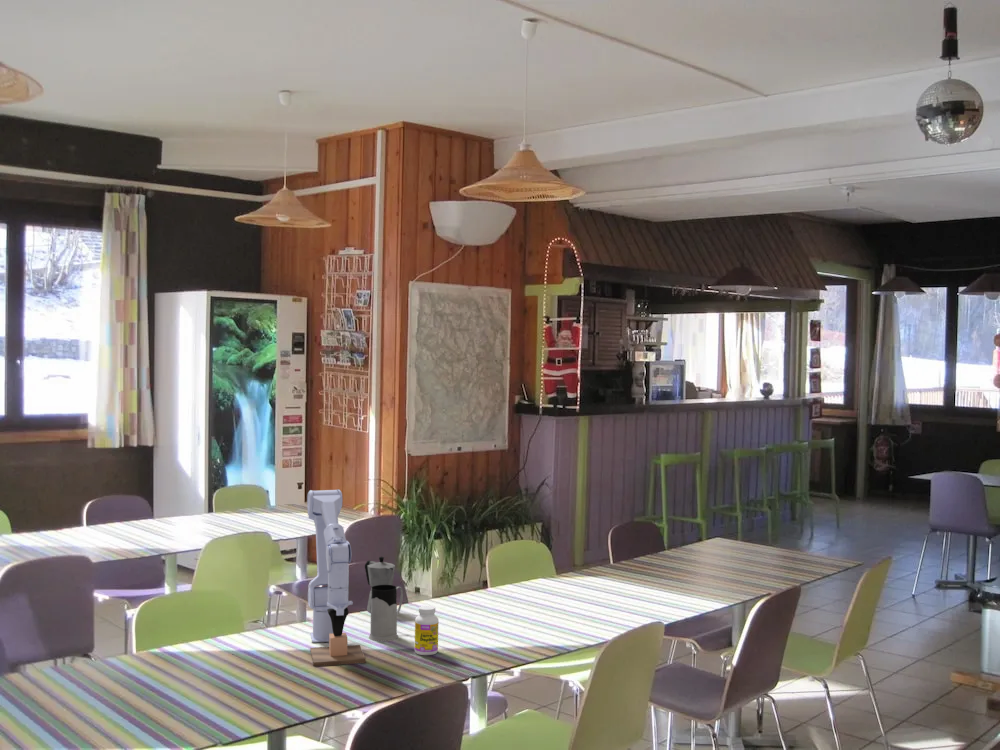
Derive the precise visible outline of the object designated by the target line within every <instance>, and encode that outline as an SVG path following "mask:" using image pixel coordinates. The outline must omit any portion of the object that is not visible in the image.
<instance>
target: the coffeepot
mask: <svg viewBox="0 0 1000 750" xmlns="http://www.w3.org/2000/svg"><path fill="white" fill-rule="evenodd" d="M384 558H385V557H384V556H379V557H378V560H379V562H376V561H372V560H367V561H366V562H365V564H364V571H365V573H366V574H365V575H366V580H367V584H368V585H369V586H370V591H369V595H368V601H367V606H366V610H367V612H368V613H370V614H371V597H372V587H373V586H376V585H393V586H394V579H395V572H396V565H395V564H394V563H390V562H386V561H384Z"/></svg>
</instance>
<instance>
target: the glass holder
mask: <svg viewBox="0 0 1000 750" xmlns="http://www.w3.org/2000/svg"><path fill="white" fill-rule="evenodd" d="M398 589H399V590H400V597H399V603H397V593H398V592H397V591H398ZM403 598H404V590H403V588H402V587H401V586H396V585H394V584H393V585H376V586H373V587H372V597H371V613H370V632H369V636H368V639H369V640H370V641H374V642H392V641H395V640H397V639H398V638H399V635H398V632H397V630H398V629H397V628H398V627H397V626H398V625H397V624H398V621H397V620H398V615H399V614H400V612H401V608H402V605H403Z"/></svg>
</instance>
